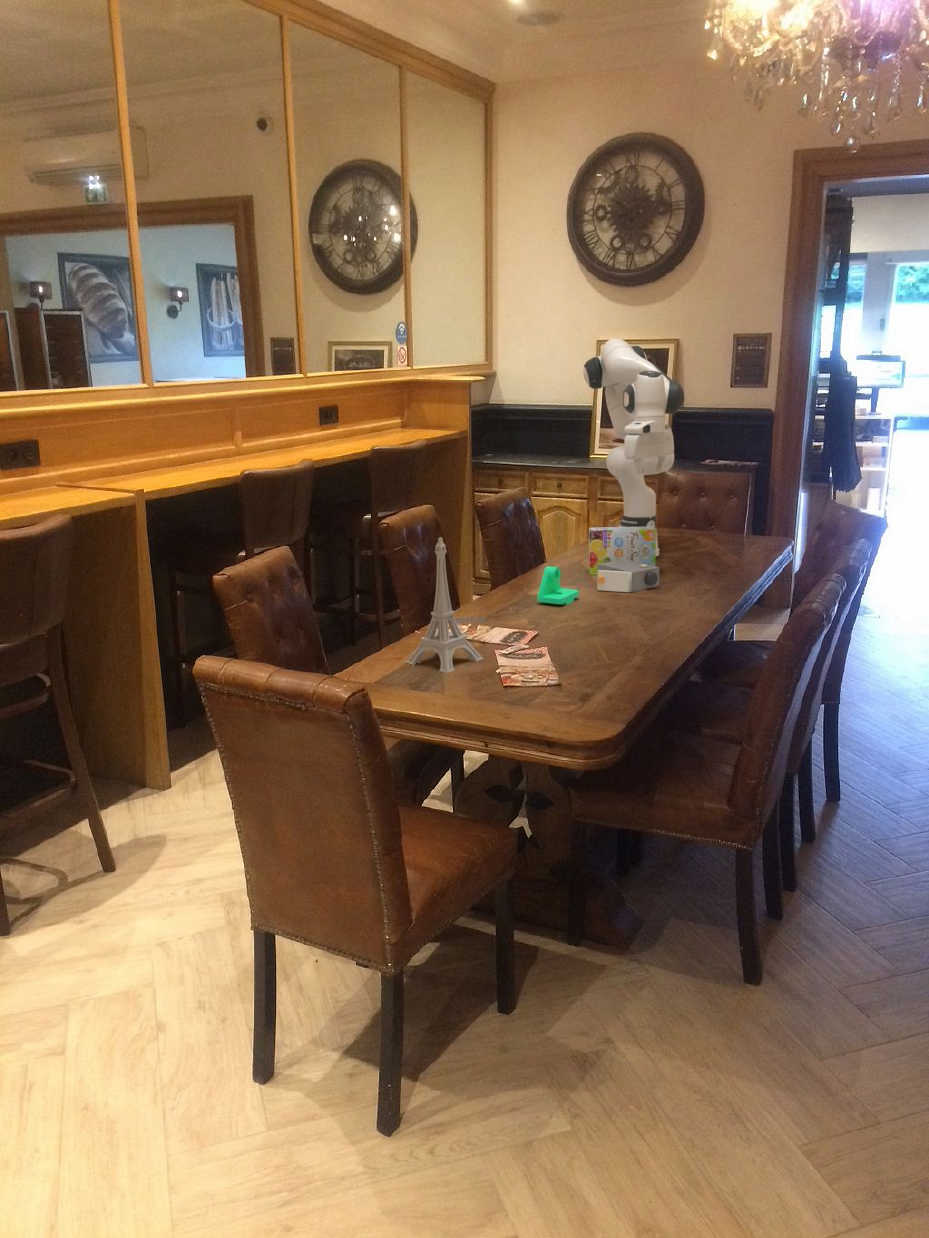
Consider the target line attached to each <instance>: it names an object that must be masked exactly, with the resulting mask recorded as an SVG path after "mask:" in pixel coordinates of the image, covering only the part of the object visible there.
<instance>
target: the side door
mask: <svg viewBox="0 0 929 1238" xmlns="http://www.w3.org/2000/svg"><path fill="white" fill-rule="evenodd" d="M597 591H602V592H603V591H605V592H620V593H631V592H632V572H624V571H606V570H598V583H597Z"/></svg>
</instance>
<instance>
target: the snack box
mask: <svg viewBox="0 0 929 1238" xmlns="http://www.w3.org/2000/svg"><path fill="white" fill-rule="evenodd" d="M656 530H657V528H656V529H655V527H618V526H611V527H609V526H608V527H607V526H605V527H604V526H603V527H598V526H597V527H589V528H588V572H589V575H590V576H597V564H600V563H606V562H611V561H617V560H622V559H625V560H630V561H634V562H638V563H643V564H647V565H651V566H656V558H657V556H656Z"/></svg>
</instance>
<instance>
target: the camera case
mask: <svg viewBox="0 0 929 1238" xmlns="http://www.w3.org/2000/svg"><path fill="white" fill-rule="evenodd" d="M598 570H606V571H624V572H632V592H633V593H634V592H637V591H639V592H640V591H643V590H649V589H653V588H658V586H659V587H660V566H656V565H655V566H651V565H647V564H643V563H638V562H634V561H630V560H625V559H622V560H617V561H611V562H606V563H600V564H597V575H596V576H597V580H596V583H597V584H598Z"/></svg>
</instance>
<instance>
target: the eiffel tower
mask: <svg viewBox="0 0 929 1238" xmlns="http://www.w3.org/2000/svg"><path fill="white" fill-rule="evenodd" d="M446 547H447V546H446V544H445V543H444V541H443V537H438V538H437V543H436V545H435V550H434V553H435V555H436V580H435V581H436V582H435V595H434V604H433V611H431V612H430V615H431V620H430V622H429V625H428V628H427V630H426V633H425V635H424V636H423V637H420V639H419V640H420V643H419V644H418V646H417V647H416V648H415V650H414V651H413V653H412V654H411V655H409V658H408V659H407V660H406V661H405V662H404V664H406V663H409V664H408V665H410V664H412V665H411V666H415V665H414V664H416V663H418V664H420V663H422V661H421V658H422V657H423V655H424V654H425V653H426V652H427V651H428V650H433V651H434V654H435V653H436V654H437V655H438V656H439V661H440V668H439V670H438V672H441V673H445V674H450V673H453V672H455V671H456V669H455V668H454V664H453V655H454V652H455V651H456V650H458V649H462V650H463V651H464V652H465V653H466V655H467V656H468V658H467V661H471V662H476V663H477V662H479V661H482V660H484V659H485V658H484V657H482V656H481V654H480V652H478V651H477V650H476V649H475V648H474V647H473V645H472V644H471V643H470V642H469V640H467V638H468V635H466V634H463V633H462V631H461V629H460V627H459V624H458V623H457V619H456V618H455V613H456V611H454V610H453V609H452V608H453V607H452V603H451V598H450V591H449V584H448V577H447V569H446V568H447V567H446V554H447V551H448V550H447V548H446ZM449 629H450V631H449ZM416 665H417V664H416Z"/></svg>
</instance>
